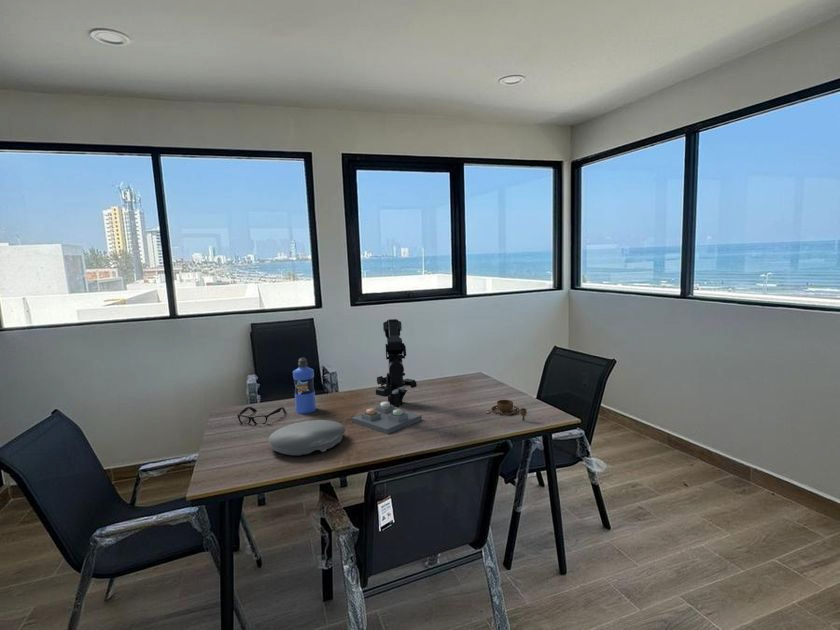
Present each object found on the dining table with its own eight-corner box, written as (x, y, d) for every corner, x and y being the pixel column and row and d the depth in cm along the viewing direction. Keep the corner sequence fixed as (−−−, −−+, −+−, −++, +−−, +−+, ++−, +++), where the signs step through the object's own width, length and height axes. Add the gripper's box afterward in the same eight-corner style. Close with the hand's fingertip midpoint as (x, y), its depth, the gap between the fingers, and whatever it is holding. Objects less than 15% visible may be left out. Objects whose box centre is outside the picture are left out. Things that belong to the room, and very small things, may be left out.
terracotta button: (371, 412, 192) (371, 407, 192) (377, 414, 190) (377, 409, 190) (364, 414, 190) (364, 410, 189) (370, 416, 187) (370, 412, 187)
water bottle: (313, 413, 204) (309, 359, 202) (293, 414, 205) (289, 360, 202) (318, 407, 214) (315, 355, 211) (298, 407, 214) (295, 356, 211)
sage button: (397, 413, 190) (397, 408, 190) (404, 414, 187) (404, 410, 187) (391, 415, 187) (390, 411, 187) (397, 417, 185) (397, 412, 184)
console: (386, 409, 206) (385, 401, 205) (421, 419, 191) (421, 410, 190) (351, 422, 191) (351, 413, 191) (387, 434, 176) (386, 424, 176)
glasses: (234, 426, 194) (232, 416, 194) (254, 411, 212) (253, 401, 211) (270, 427, 192) (268, 416, 191) (287, 412, 209) (286, 401, 209)
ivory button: (385, 405, 201) (385, 401, 201) (391, 407, 198) (391, 402, 198) (378, 407, 198) (378, 403, 198) (385, 409, 196) (384, 404, 195)
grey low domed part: (315, 425, 189) (314, 415, 189) (361, 440, 171) (360, 429, 171) (254, 449, 168) (253, 438, 167) (299, 468, 150) (298, 456, 150)
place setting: (524, 408, 202) (524, 395, 202) (528, 424, 183) (528, 410, 182) (485, 407, 205) (485, 395, 204) (485, 423, 186) (485, 409, 185)
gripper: (398, 364, 197) (399, 398, 199) (365, 372, 184) (367, 409, 186) (416, 367, 190) (418, 403, 192) (384, 376, 176) (386, 415, 178)
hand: (397, 407), depth 187 cm, fingers closed
